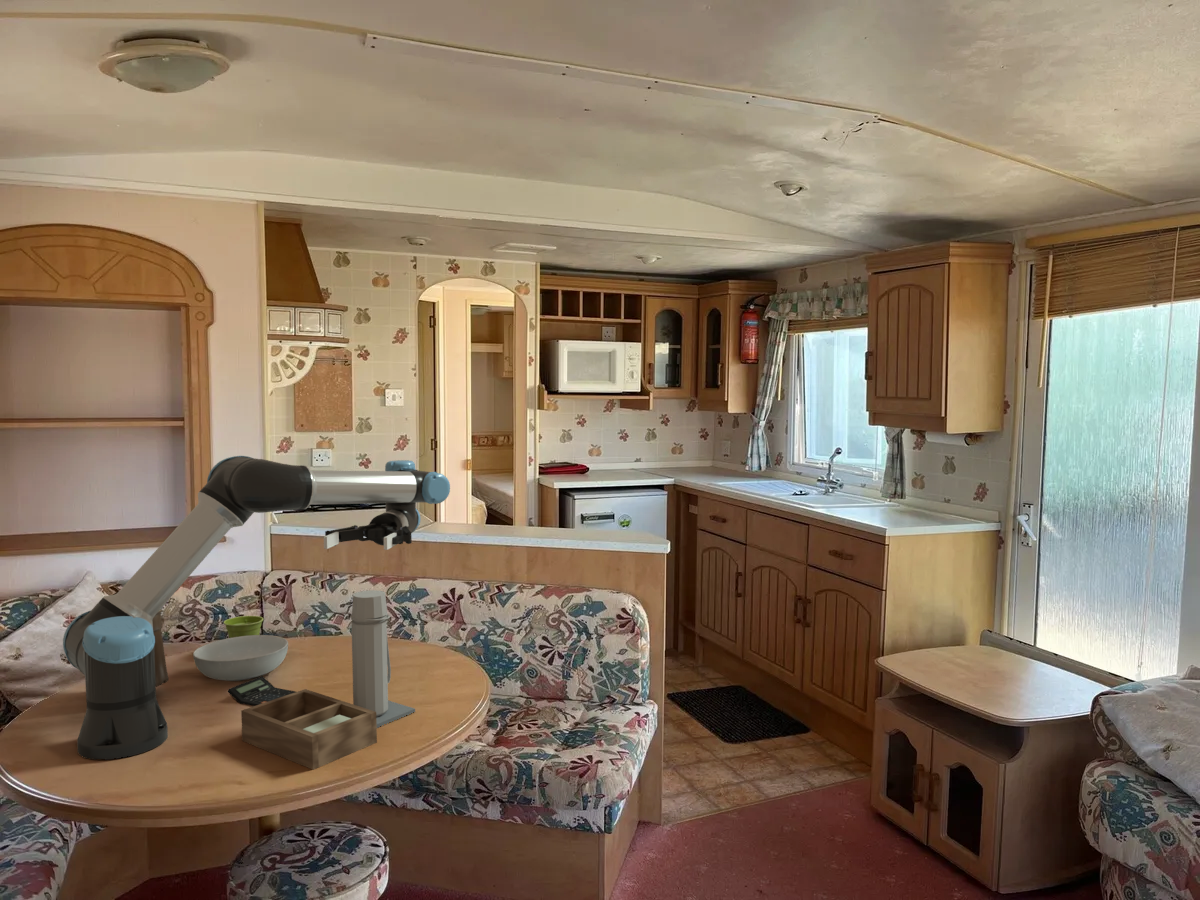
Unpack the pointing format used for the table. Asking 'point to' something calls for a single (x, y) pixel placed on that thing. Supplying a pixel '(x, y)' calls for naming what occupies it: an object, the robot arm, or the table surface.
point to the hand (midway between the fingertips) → (355, 543)
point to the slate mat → (393, 713)
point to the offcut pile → (326, 723)
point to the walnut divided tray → (287, 717)
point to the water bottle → (370, 651)
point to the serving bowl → (241, 657)
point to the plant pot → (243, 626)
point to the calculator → (257, 692)
